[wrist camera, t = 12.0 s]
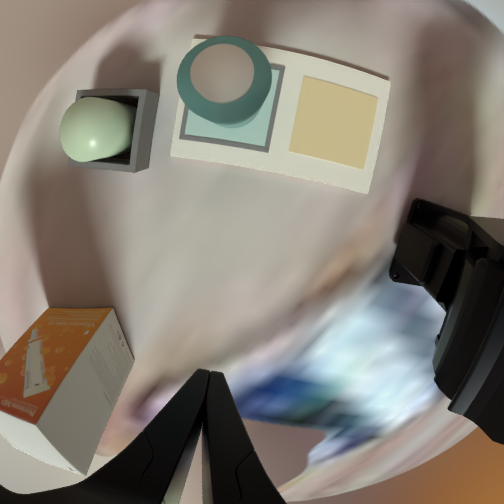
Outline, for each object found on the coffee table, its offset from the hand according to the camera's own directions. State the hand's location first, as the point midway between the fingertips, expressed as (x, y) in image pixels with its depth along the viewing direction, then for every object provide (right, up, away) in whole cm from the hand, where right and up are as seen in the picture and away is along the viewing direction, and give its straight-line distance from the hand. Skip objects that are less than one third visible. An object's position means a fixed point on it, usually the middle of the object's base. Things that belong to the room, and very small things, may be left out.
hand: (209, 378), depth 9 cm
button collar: (-7, +12, +8) cm, 17 cm away
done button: (-7, +12, +8) cm, 16 cm away
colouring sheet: (+3, +13, +8) cm, 15 cm away
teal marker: (0, +13, +7) cm, 15 cm away
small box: (-14, -3, +15) cm, 20 cm away
